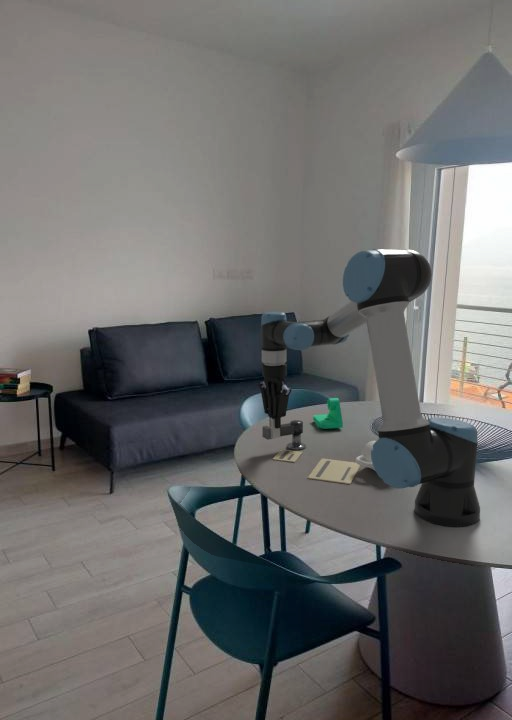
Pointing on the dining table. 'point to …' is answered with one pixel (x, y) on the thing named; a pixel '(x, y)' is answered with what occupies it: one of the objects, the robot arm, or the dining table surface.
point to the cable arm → (285, 429)
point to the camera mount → (330, 416)
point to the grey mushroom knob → (296, 443)
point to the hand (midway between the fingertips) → (275, 437)
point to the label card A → (288, 455)
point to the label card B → (334, 471)
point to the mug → (366, 456)
